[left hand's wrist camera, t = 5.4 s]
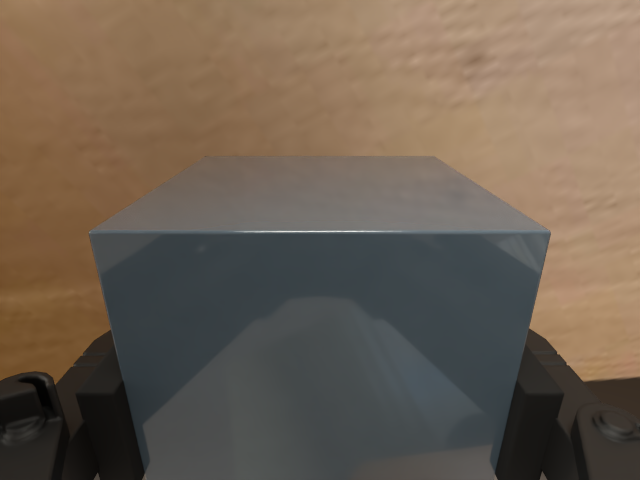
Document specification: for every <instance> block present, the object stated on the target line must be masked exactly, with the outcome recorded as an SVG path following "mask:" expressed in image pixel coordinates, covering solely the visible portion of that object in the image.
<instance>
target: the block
mask: <svg viewBox="0 0 640 480" xmlns="http://www.w3.org/2000/svg"><path fill="white" fill-rule="evenodd" d="M550 235H551V233H550V230H548V229H546V228H545V227H543V226H542V225H540V224H539V223H537V222H536V221H534V220H532V219H531V218H529V217H528V216H526V215H525V214H523V213H522V212H520V211H519V210H517V209H515V208H514V207H512V206H511V205H509V204H508V203H506V202H505V201H503V200H501V199H500V198H498V197H497V196H495V195H494V194H492V193H491V192H489V191H488V190H486V189H484V188H483V187H481V186H480V185H478V184H477V183H475V182H474V181H472V180H470V179H469V178H467V177H466V176H464V175H463V174H461V173H460V172H458V171H457V170H455V169H453V168H452V167H450V166H449V165H447V164H446V163H444V162H443V161H441V160H439V159H438V158H436V157H435V156H205V157H203V158H202V159H200V160H199V161H197V162H196V163H194V164H193V165H191V166H189V167H188V168H186V169H185V170H183V171H182V172H180V173H179V174H177V175H175V176H174V177H172V178H171V179H169V180H168V181H166V182H165V183H163V184H161V185H160V186H158V187H157V188H155V189H154V190H152V191H151V192H149V193H148V194H146V195H144V196H143V197H141V198H140V199H138V200H137V201H135V202H134V203H132V204H130V205H129V206H127V207H126V208H124V209H123V210H121V211H120V212H118V213H116V214H115V215H113V216H112V217H110V218H109V219H107V220H106V221H104V222H103V223H101V224H99V225H98V226H96V227H95V228H93V229H92V230H90V231H89V237H90V241H91V246H92V250H93V254H94V258H95V263H96V267H97V271H98V276H99V280H100V284H101V289H102V293H103V297H104V302H105V306H106V310H107V315H108V319H109V323H110V328H111V332H112V336H113V340H114V345H115V349H116V353H117V358H118V362H119V366H120V371H121V375H122V379H123V384H124V388H125V392H126V397H127V401H128V405H129V410H130V414H131V418H132V422H133V427H134V431H135V435H136V440H137V444H138V448H139V453H140V457H141V461H142V466H143V470H144V474H145V479H146V480H494V477H495V473H496V468H497V464H498V460H499V456H500V451H501V447H502V443H503V438H504V434H505V430H506V425H507V421H508V417H509V412H510V408H511V404H512V399H513V395H514V391H515V386H516V382H517V378H518V373H519V369H520V365H521V360H522V356H523V352H524V347H525V343H526V339H527V334H528V330H529V326H530V321H531V317H532V313H533V308H534V304H535V300H536V295H537V291H538V287H539V282H540V278H541V274H542V270H543V265H544V261H545V257H546V252H547V248H548V244H549V239H550Z"/></svg>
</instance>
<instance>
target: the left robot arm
mask: <svg viewBox="0 0 640 480" xmlns="http://www.w3.org/2000/svg"><path fill="white" fill-rule="evenodd" d="M542 471H543V473H544V474H545V476H546V478H547V480H640V420H639V419H638V418H637V417H635V416H633V415H632V414H630V413H628V412H626V411H625V410H623V409H620V408H617V407H615V406H612V405H609V404H604V403H601V401H600V400H599V399H598V398H597V397H596V396H595V395H594V394H593V392H592V391H591V390H590V389H589V388H588V387H587V386H586V384H585V383H584V382H583V381H582V380H581V379H580V378H579V376H578V375H577V374H576V373H575V372H574V371H573V370H572V368H571V367H570V366H569V365H567V364H566V362H565V361H564V359H563V358H562V357H561V356H560V355H557V351H556V350H555V349H554V348H553V347H552V346H551V345H550V343H549V342H548V341H547V340H546V339H545V338H543V337H542V336H540V335H539V334H537V333H535V332H534V331H532V330H531V329H529V330H528V334H527V339H526V343H525V347H524V352H523V356H522V360H521V365H520V369H519V373H518V378H517V382H516V386H515V391H514V395H513V399H512V404H511V408H510V412H509V417H508V421H507V425H506V430H505V434H504V438H503V443H502V447H501V451H500V456H499V460H498V464H497V468H496V473H495V475H496V477H497V479H498V480H540V476H541V473H542ZM97 473H98V474H99V477H100V480H142V478H143V476H144V470H143V466H142V461H141V457H140V453H139V448H138V444H137V440H136V435H135V431H134V427H133V422H132V418H131V414H130V410H129V405H128V401H127V397H126V392H125V388H124V384H123V379H122V375H121V371H120V366H119V362H118V358H117V353H116V349H115V345H114V340H113V336H112V332H111V330H110V331H108V332H107V333H105V334H103V335H102V336H100V337H99V338H97V339H96V340H94V341H93V343H92V344H91V345H90V346H89V347H88V348H87V349H86V351H85V352H84V353H83V356H80V357H79V359H78V360H77V361H76V362H75V363H74V366H73V367H71V368H70V369H69V370H68V371H67V372H66V373H65V375H64V376H63V377H62V378H61V379H60V380H59V381H58V383H57V384H56V385H55V384H54V380H53V377H51V376H50V375H48V374H47V373H43V372H36V371H35V372H27V373H21V374H17V375H14V376H11V377H8V378H5V379H3V380H1V381H0V480H94V478H95V476H96V474H97Z"/></svg>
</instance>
